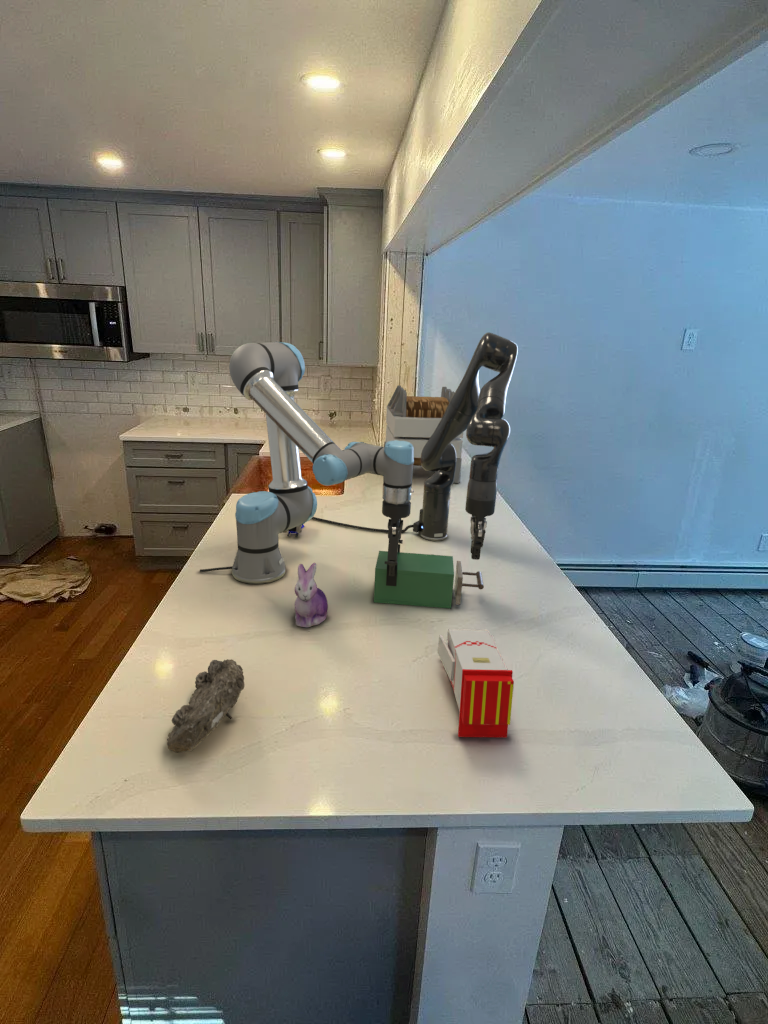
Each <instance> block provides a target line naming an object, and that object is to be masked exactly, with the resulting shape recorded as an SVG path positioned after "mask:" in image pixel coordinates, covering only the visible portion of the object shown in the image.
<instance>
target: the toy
mask: <svg viewBox="0 0 768 1024" xmlns="http://www.w3.org/2000/svg"><path fill="white" fill-rule="evenodd" d="M446 640H447V643H446V641H445V639H444V636H443V635H442V634H439V637H438V646H437V656H438V657H439V659H440V661H441V663H442V666H443V668H444V670H445V672H446V674H447V677H448V679H449V681H450V684H451V687H452V690H453V693H454V697H455V701H456V705H457V708H458V711H459V714H458V715H459V716H458V730H457V731H458V732H457V737H458V738H508V731H509V726H510V725H511V717H512V707H513V697H514V696H513V695H514V684H515V680H514V679H513V673H514V671H513V670H512V669H508V667H507V665H506V662H505V661H504V659H503V658H502V655H501V653H500V651H499V649H498V647H497V643H496V639H495V637H494V635H493V634H491V632H490V631H489V629H467V628H466V629H465V628H463V629H461V628H460V629H459V628H448V630H447V639H446Z"/></svg>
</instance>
